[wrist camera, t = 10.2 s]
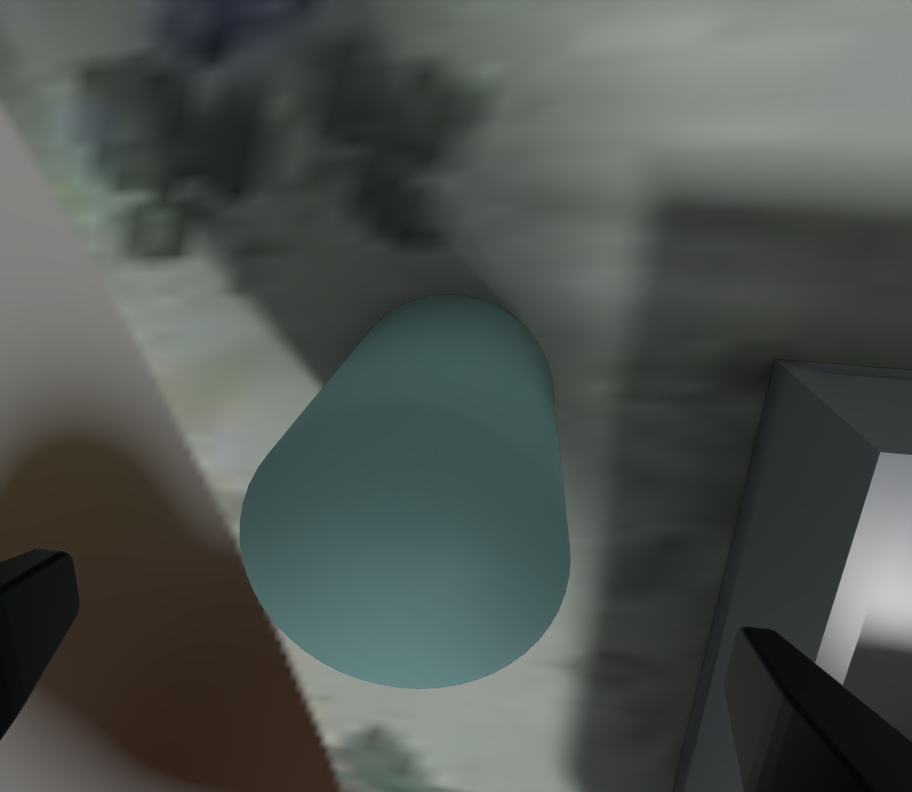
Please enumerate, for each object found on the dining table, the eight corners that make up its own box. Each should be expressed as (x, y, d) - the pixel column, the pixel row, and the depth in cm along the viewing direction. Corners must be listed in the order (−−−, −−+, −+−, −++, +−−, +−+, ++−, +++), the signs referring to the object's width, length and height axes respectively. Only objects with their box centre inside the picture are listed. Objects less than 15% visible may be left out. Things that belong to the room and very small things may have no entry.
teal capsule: (541, 494, 17) (550, 705, 11) (349, 475, 18) (247, 669, 11) (564, 303, 16) (591, 419, 9) (350, 285, 16) (229, 385, 10)
